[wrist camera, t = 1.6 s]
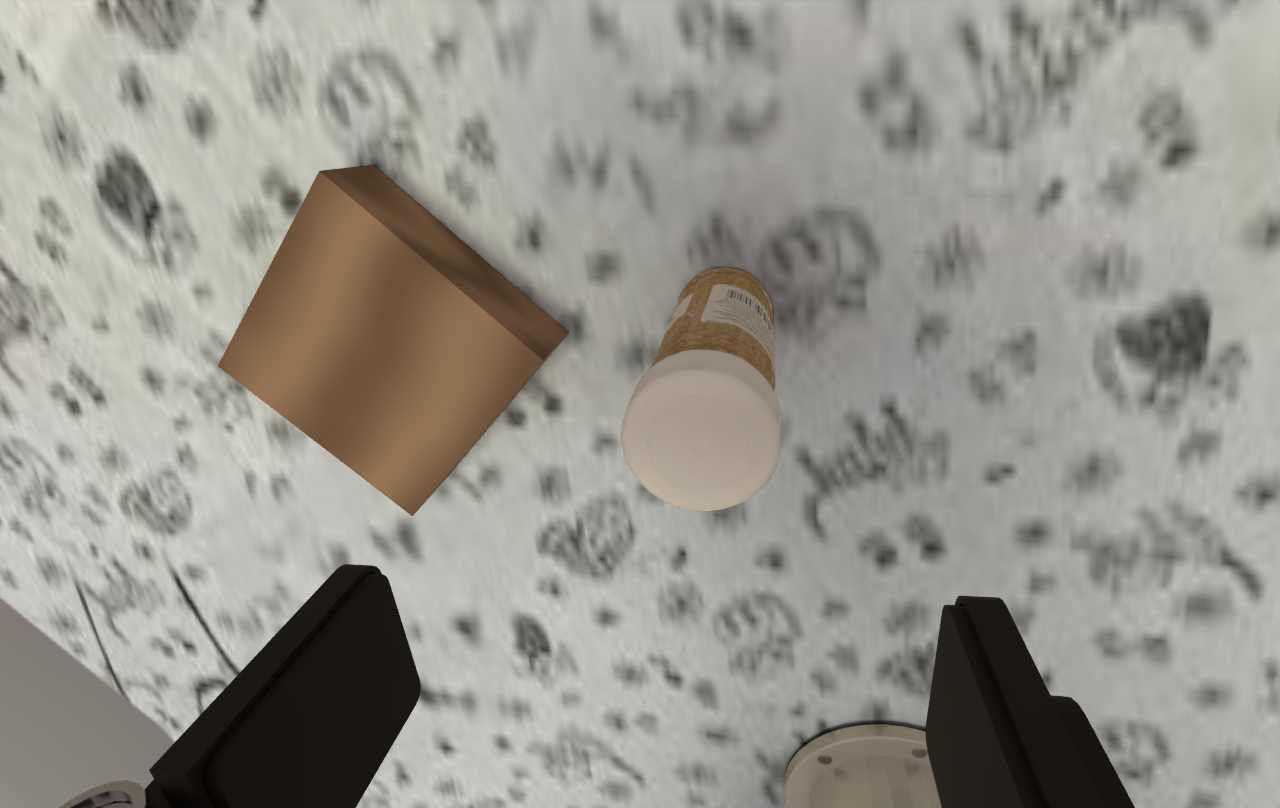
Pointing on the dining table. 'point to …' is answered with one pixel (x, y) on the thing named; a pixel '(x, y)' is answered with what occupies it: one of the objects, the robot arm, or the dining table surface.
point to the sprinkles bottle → (709, 398)
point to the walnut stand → (386, 335)
